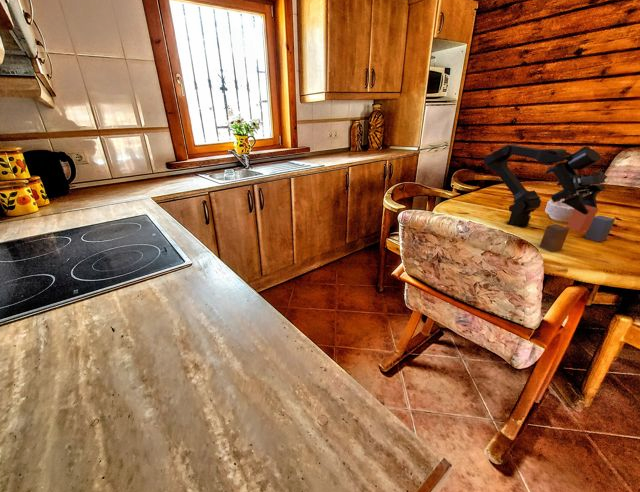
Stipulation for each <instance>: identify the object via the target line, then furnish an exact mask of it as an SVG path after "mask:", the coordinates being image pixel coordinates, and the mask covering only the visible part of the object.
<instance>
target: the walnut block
mask: <svg viewBox="0 0 640 492" xmlns="http://www.w3.org/2000/svg"><path fill="white" fill-rule="evenodd" d="M570 230H571V229H570V228H567V226H563V225H560V224H558V223H555V224H548V225H546V227H545V230H544V232H543V235H542V237H541V238H542V239H541V241H540V245H539V248H541V249H543V250H546V251H549V252H551V253H555V252H558V251H562V249H563V247H564V245H565V242H566V238H567V236H568V234H569V232H570Z"/></svg>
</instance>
